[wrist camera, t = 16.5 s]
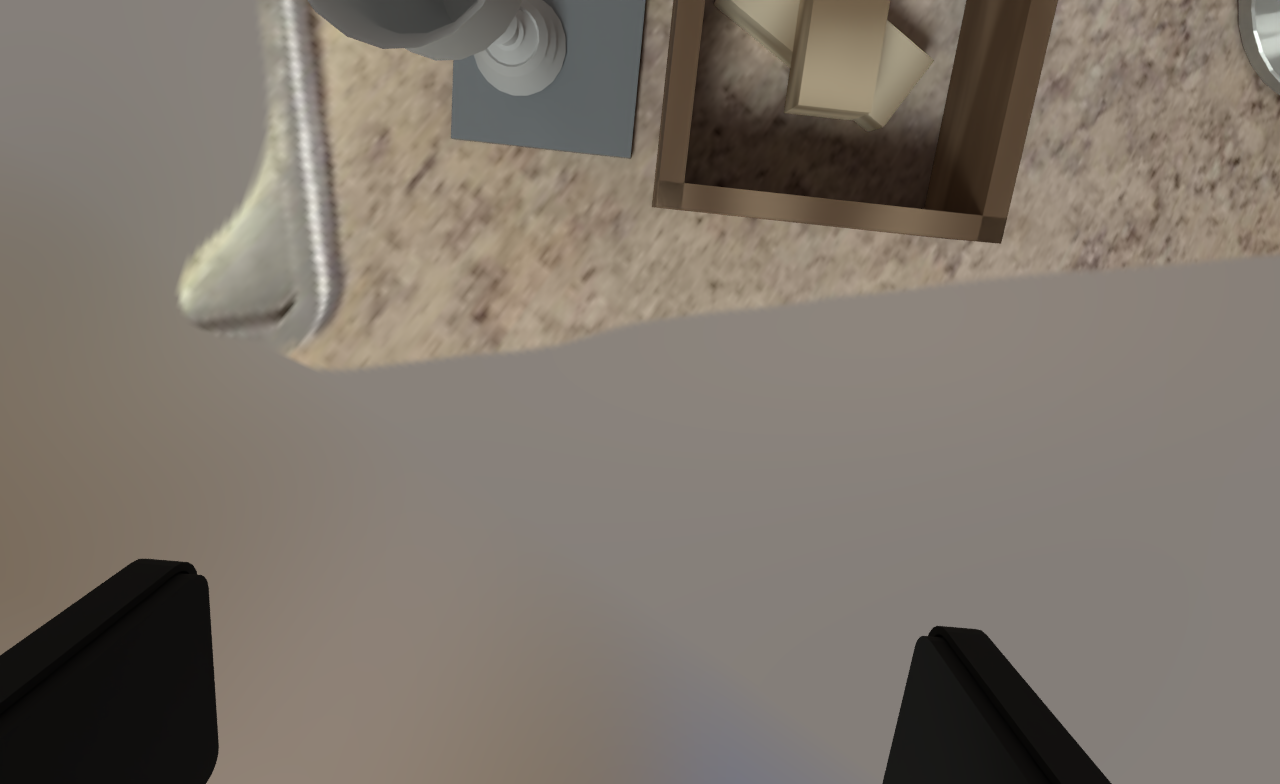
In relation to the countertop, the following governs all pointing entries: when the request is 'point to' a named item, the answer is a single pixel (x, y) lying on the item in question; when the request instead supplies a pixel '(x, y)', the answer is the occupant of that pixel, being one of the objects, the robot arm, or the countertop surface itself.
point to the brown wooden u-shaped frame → (967, 146)
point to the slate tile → (564, 88)
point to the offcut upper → (836, 57)
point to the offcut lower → (770, 17)
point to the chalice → (462, 34)
